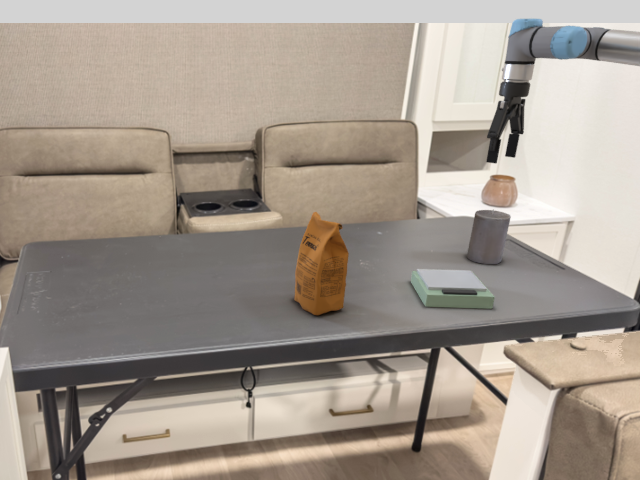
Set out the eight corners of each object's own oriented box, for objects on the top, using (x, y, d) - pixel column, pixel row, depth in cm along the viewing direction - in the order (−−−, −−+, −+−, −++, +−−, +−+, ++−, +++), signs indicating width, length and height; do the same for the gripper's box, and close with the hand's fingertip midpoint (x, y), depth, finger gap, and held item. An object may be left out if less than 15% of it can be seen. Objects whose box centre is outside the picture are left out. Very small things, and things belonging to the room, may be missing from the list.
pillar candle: (460, 254, 176) (469, 205, 170) (490, 253, 177) (500, 205, 171) (477, 265, 167) (486, 214, 161) (508, 264, 168) (519, 213, 162)
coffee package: (323, 292, 147) (330, 208, 138) (348, 312, 137) (357, 222, 128) (288, 298, 144) (292, 211, 135) (311, 318, 133) (317, 226, 125)
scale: (492, 308, 140) (495, 293, 138) (425, 306, 140) (427, 291, 139) (471, 283, 154) (474, 269, 153) (410, 281, 155) (412, 267, 153)
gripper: (518, 79, 169) (504, 153, 178) (483, 82, 153) (469, 163, 161) (545, 80, 165) (530, 156, 173) (512, 83, 148) (496, 167, 157)
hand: (501, 159), depth 167 cm, fingers open, 13 cm apart
